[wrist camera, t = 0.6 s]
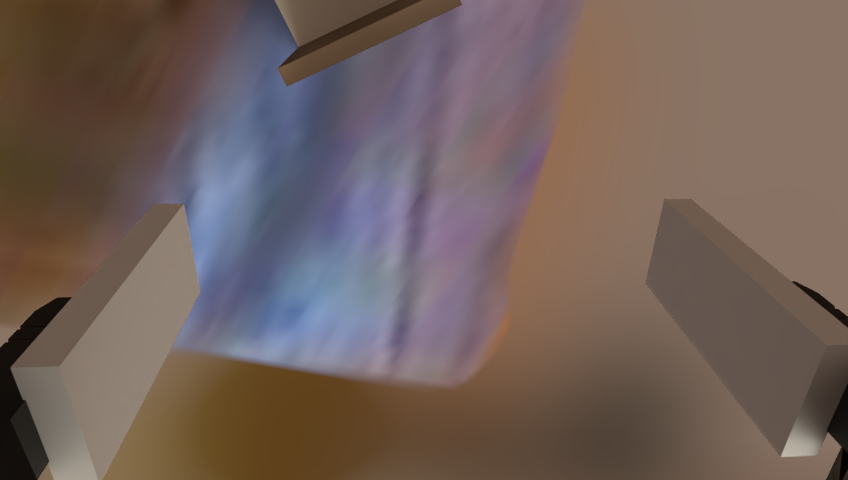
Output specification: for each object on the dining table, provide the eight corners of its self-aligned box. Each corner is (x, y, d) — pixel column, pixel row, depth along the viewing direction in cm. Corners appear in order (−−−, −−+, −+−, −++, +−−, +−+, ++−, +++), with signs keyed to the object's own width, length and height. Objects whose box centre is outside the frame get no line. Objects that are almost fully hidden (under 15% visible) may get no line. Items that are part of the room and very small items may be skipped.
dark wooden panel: (300, 44, 38) (277, 68, 30) (439, -22, 37) (454, -15, 29) (308, 59, 39) (287, 86, 31) (445, -6, 37) (461, 4, 29)
